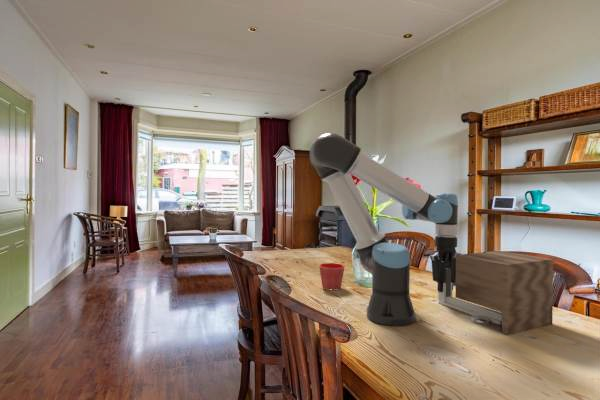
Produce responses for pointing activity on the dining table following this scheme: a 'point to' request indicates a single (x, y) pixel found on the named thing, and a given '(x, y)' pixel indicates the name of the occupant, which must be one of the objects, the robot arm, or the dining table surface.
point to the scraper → (468, 304)
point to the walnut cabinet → (508, 287)
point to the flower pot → (331, 275)
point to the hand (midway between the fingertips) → (445, 300)
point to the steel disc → (480, 319)
